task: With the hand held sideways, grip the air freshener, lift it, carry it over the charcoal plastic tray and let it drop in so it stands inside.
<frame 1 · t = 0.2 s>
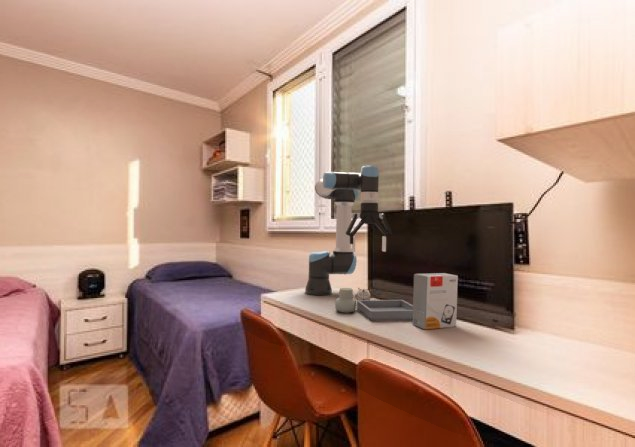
hand: (368, 251, 147), 27 cm above the table, tool pointing down, fingers open, 13 cm apart
game die: (363, 305, 165), on the table
air freshener: (345, 311, 152), on the table
tray: (387, 314, 148), on the table
hard drive box: (434, 326, 132), on the table
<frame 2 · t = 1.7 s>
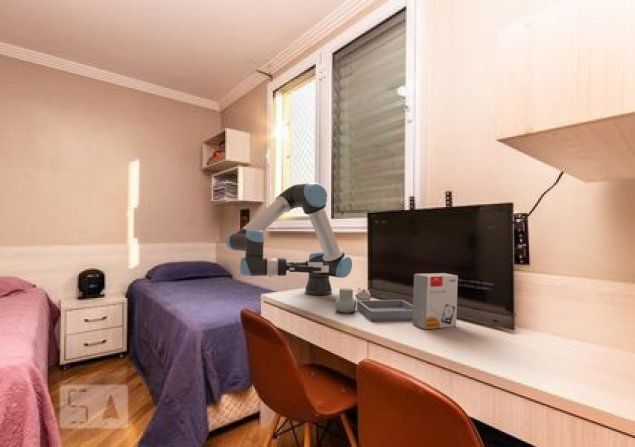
hand: (325, 267, 150), 20 cm above the table, tool horizontal, fingers open, 13 cm apart
nothing on the table moved.
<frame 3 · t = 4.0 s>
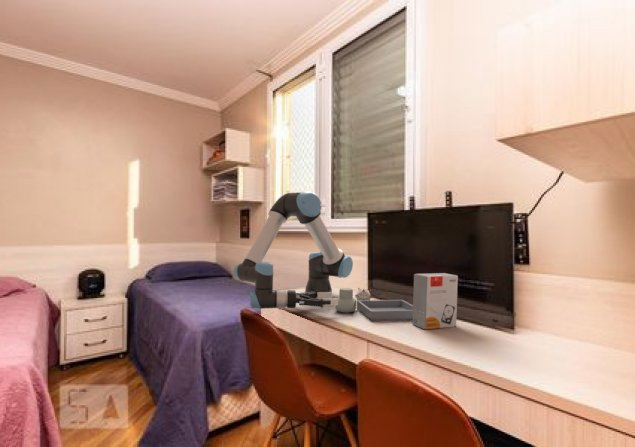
hand: (334, 298, 150), 6 cm above the table, tool horizontal, fingers open, 13 cm apart
nothing on the table moved.
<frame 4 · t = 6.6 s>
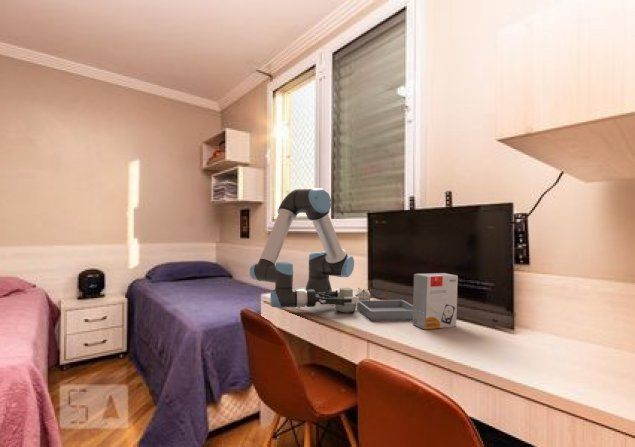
hand: (355, 297, 152), 6 cm above the table, tool horizontal, fingers closed on air freshener, 10 cm apart
air freshener: (345, 311, 152), on the table, touching gripper
everything else where it was.
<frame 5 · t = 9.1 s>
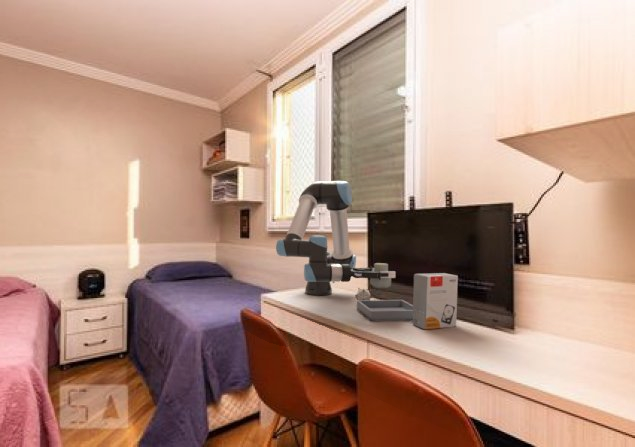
hand: (390, 272, 148), 18 cm above the table, tool horizontal, fingers closed on air freshener, 10 cm apart
air freshener: (380, 287, 147), point 12 cm above the table, touching gripper
everything else where it was.
when the fingers open (10 cm above the table, at t = 11.8 s): air freshener drops 3 cm, resting on tray.
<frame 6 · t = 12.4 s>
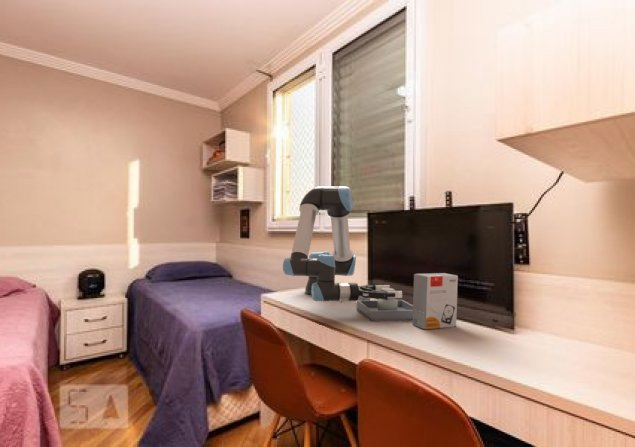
hand: (395, 291, 148), 10 cm above the table, tool horizontal, fingers open, 13 cm apart
air freshener: (387, 312, 148), point 1 cm above the table, touching tray
everything else where it was.
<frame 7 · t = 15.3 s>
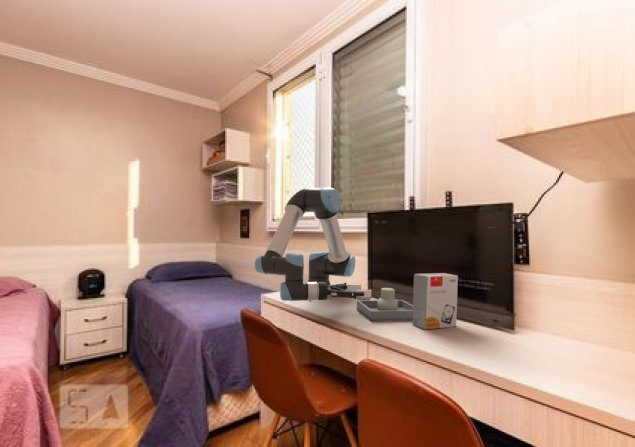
hand: (365, 290, 146), 10 cm above the table, tool horizontal, fingers open, 13 cm apart
nothing on the table moved.
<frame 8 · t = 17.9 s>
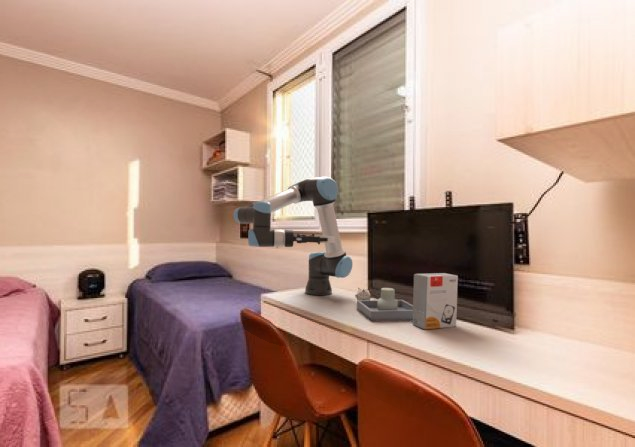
hand: (331, 239, 153), 32 cm above the table, tool horizontal, fingers open, 13 cm apart
nothing on the table moved.
at the end: air freshener inside the target area on the tray (0.1 cm from its centre), point 0.8 cm above the tray's base; air freshener tilted 0°; the gripper is holding nothing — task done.
